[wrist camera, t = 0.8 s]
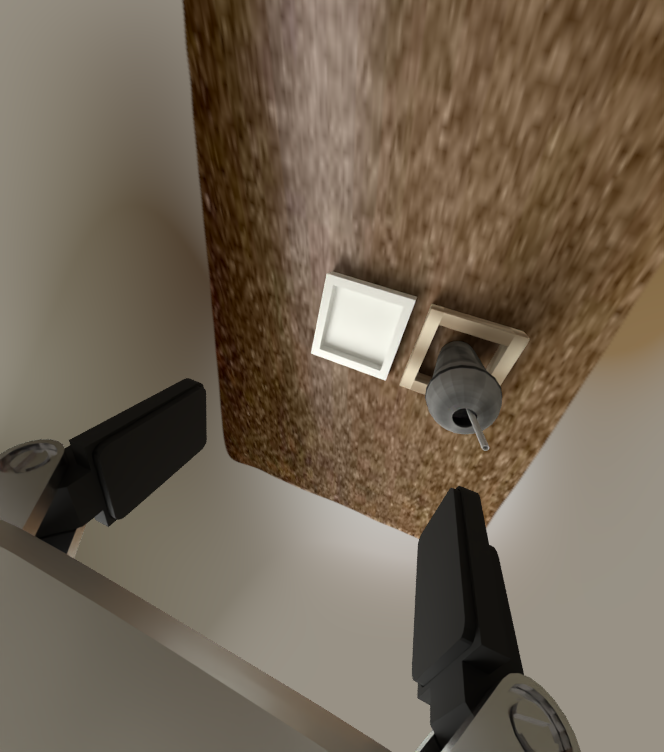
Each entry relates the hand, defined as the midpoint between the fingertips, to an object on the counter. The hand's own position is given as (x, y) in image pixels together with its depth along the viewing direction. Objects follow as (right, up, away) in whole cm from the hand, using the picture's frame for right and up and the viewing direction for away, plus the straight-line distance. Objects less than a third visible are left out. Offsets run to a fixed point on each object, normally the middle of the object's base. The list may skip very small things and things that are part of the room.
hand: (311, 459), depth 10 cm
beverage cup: (+18, +6, +29) cm, 34 cm away
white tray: (+5, +11, +31) cm, 33 cm away
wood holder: (+18, +6, +28) cm, 34 cm away
